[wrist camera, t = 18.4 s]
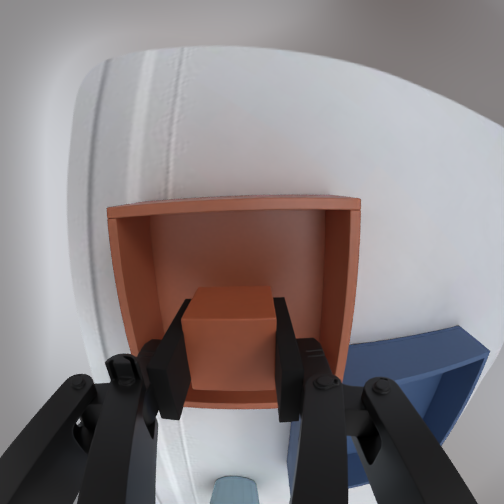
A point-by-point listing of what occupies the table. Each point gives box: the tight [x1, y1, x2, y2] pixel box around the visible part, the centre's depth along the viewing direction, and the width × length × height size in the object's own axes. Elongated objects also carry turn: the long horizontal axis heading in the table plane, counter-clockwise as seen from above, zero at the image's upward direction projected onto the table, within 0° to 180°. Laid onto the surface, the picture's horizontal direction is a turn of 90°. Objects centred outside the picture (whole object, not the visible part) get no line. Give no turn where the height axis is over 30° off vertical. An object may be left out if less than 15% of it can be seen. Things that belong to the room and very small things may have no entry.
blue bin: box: [287, 326, 490, 496], centre depth 20 cm, size 17×17×6 cm
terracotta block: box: [181, 286, 277, 391], centre depth 13 cm, size 4×4×4 cm
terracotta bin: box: [107, 195, 361, 409], centre depth 17 cm, size 13×13×6 cm
